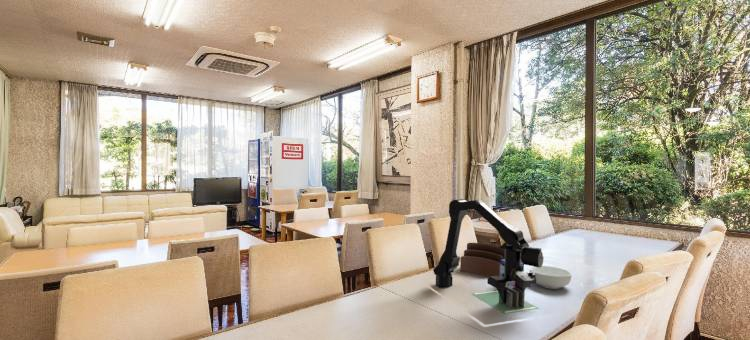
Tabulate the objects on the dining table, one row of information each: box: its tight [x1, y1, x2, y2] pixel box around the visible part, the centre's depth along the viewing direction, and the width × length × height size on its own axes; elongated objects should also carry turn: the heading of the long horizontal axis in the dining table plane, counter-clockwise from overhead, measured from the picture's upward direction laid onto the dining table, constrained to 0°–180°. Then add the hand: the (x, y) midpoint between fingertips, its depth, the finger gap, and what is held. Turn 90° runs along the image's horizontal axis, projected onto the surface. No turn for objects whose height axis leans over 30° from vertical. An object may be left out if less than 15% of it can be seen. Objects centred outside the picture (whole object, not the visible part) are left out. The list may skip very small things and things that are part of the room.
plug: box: [499, 286, 526, 309], centre depth 134 cm, size 6×6×6 cm
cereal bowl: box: [529, 265, 572, 290], centre depth 158 cm, size 17×17×7 cm
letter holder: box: [459, 242, 505, 278], centre depth 177 cm, size 10×20×14 cm, turn 55°
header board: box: [471, 290, 540, 314], centre depth 138 cm, size 16×20×3 cm
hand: (511, 302), depth 134 cm, fingers closed on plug, 6 cm apart
